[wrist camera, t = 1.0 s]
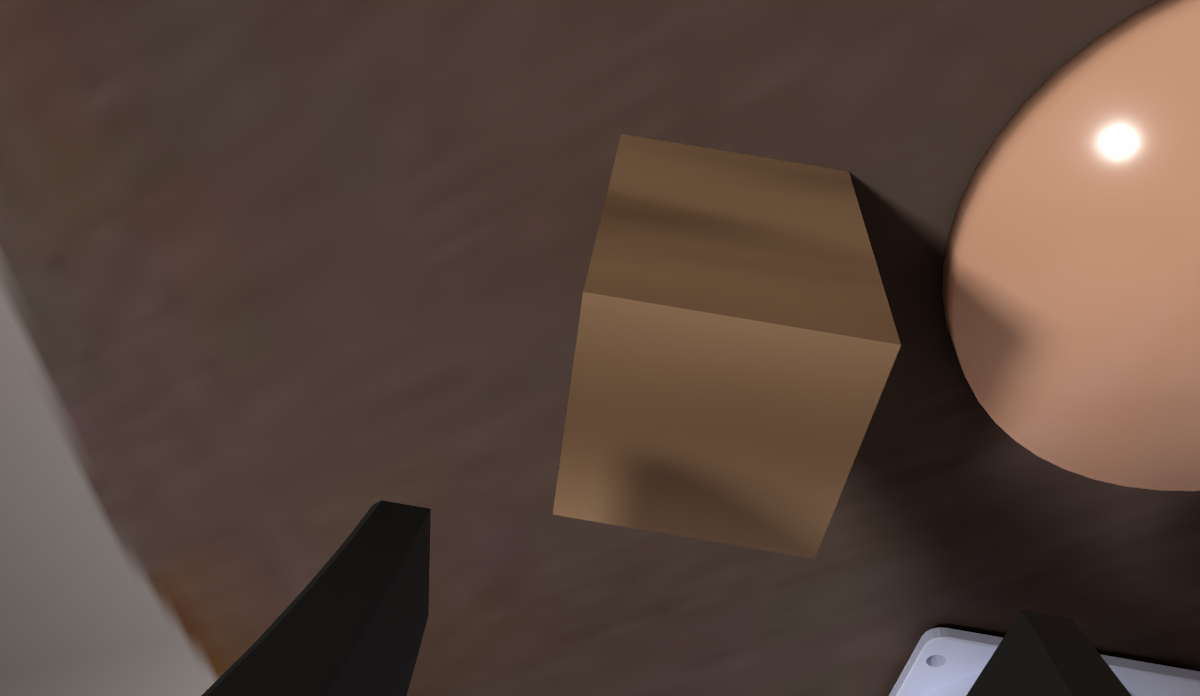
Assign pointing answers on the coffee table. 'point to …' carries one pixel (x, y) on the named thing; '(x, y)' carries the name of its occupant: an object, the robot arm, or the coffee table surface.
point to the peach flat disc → (1092, 260)
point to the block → (724, 349)
